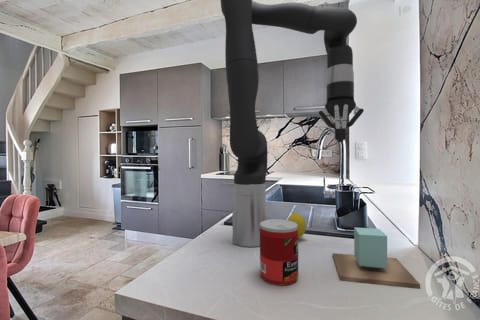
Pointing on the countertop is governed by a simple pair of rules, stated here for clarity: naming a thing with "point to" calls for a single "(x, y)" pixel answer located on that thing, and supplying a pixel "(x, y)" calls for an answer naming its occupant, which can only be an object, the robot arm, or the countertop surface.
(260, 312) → the countertop surface
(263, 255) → the canned food
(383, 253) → the mint foam cube
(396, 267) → the stand
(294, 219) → the lemon
